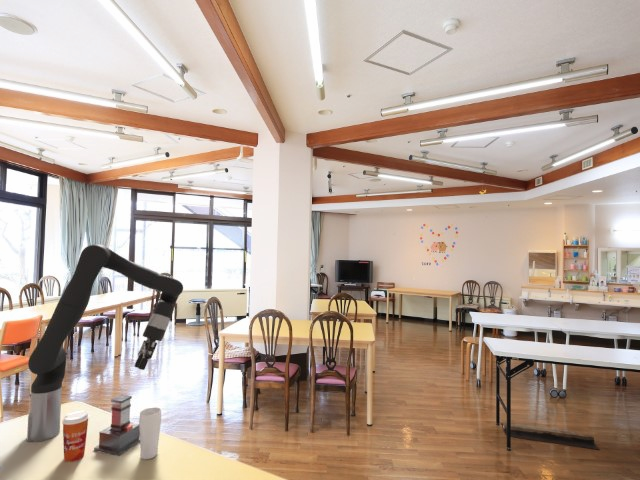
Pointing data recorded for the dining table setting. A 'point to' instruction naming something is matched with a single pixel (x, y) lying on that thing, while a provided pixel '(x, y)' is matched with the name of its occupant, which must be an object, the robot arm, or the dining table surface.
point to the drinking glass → (149, 432)
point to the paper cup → (75, 435)
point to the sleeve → (118, 440)
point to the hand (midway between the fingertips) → (138, 368)
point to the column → (120, 412)
